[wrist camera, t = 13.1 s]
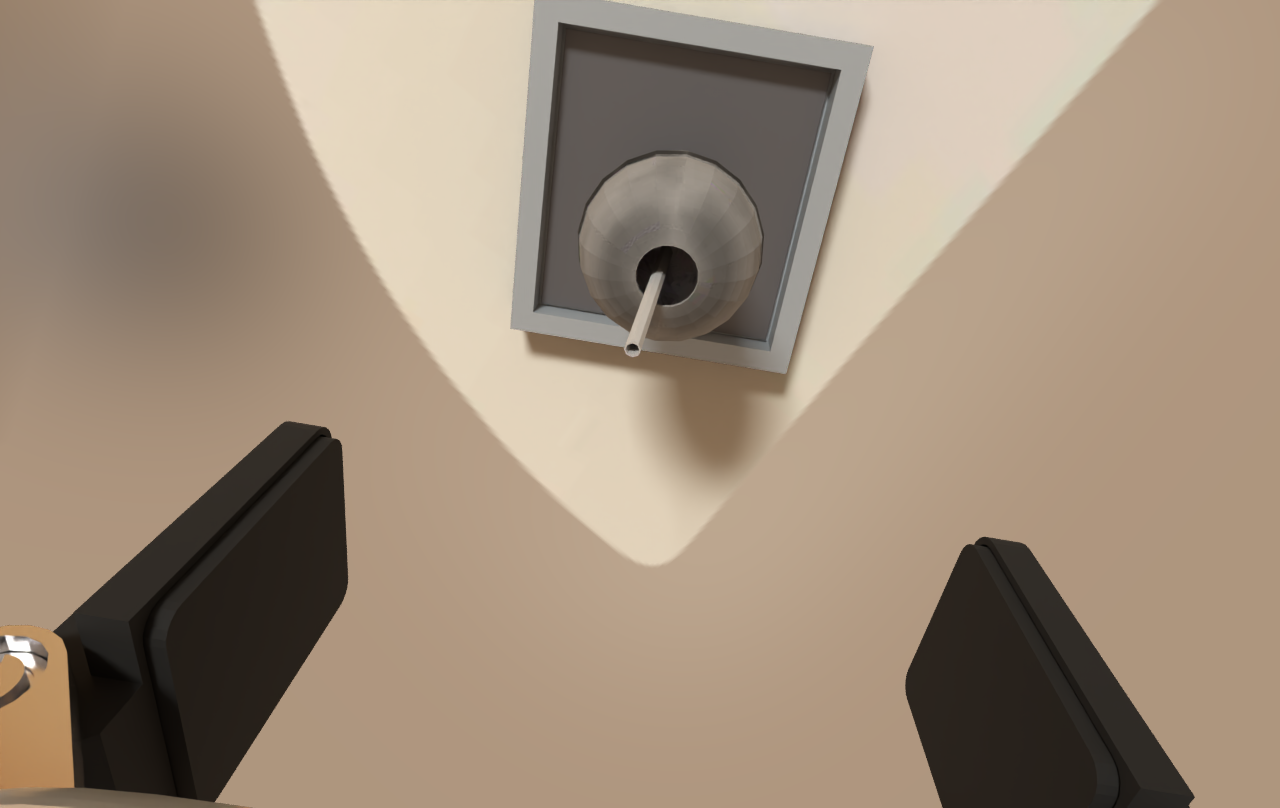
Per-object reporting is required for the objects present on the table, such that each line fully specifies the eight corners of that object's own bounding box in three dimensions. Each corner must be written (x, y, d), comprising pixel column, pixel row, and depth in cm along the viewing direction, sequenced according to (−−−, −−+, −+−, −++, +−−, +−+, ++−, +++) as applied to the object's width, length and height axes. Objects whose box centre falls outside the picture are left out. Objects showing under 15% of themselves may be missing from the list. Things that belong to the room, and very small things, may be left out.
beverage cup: (773, 195, 38) (847, 326, 20) (673, 288, 40) (660, 478, 22) (677, 89, 36) (664, 127, 18) (579, 193, 38) (482, 319, 20)
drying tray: (862, 46, 36) (873, 46, 33) (781, 357, 43) (786, 374, 41) (545, -8, 35) (535, -12, 33) (519, 314, 43) (510, 328, 41)
